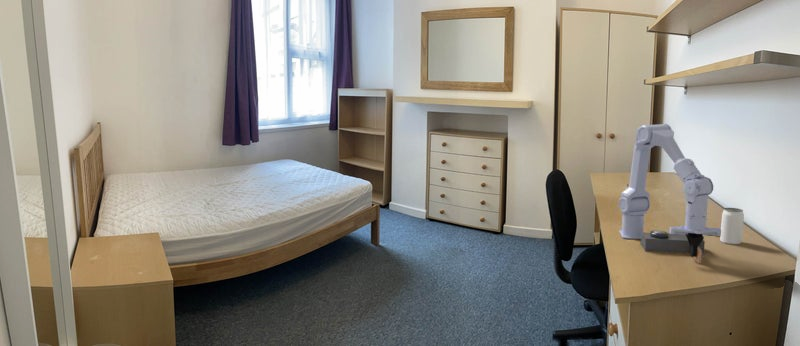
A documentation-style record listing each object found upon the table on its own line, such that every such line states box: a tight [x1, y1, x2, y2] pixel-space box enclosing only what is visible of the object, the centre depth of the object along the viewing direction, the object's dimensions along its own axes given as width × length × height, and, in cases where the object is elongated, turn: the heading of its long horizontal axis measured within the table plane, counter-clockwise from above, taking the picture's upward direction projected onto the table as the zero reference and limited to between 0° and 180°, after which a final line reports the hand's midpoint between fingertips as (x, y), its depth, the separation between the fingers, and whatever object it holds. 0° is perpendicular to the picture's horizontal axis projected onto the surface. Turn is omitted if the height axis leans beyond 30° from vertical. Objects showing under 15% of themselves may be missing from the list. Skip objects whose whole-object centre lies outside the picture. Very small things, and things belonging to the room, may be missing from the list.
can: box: [719, 207, 745, 246], centre depth 177 cm, size 6×6×12 cm
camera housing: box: [640, 230, 706, 255], centre depth 172 cm, size 8×18×6 cm, turn 75°
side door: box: [693, 246, 704, 264], centre depth 162 cm, size 1×10×4 cm, turn 162°
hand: (693, 255), depth 161 cm, fingers closed
